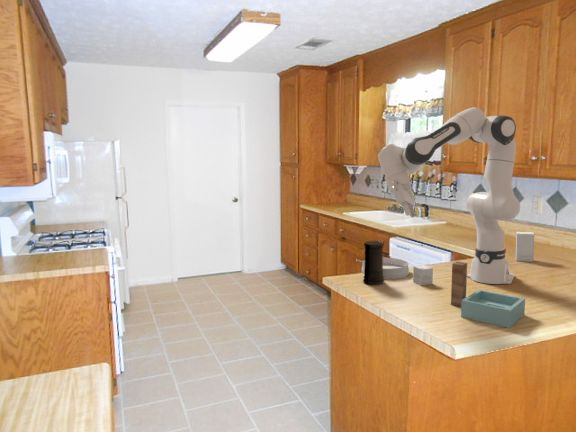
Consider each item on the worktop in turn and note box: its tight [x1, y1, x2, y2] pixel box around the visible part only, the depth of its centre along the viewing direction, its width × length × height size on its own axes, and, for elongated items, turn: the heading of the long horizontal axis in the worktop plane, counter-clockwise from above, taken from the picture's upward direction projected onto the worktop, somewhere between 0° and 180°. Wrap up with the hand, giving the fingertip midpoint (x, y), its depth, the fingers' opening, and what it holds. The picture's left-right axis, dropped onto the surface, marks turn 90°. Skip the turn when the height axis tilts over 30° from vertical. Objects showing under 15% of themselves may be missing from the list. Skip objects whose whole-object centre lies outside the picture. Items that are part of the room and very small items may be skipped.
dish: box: [361, 257, 410, 280], centre depth 218 cm, size 22×22×5 cm
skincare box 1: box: [412, 264, 434, 287], centre depth 200 cm, size 6×6×7 cm
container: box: [362, 240, 385, 286], centre depth 201 cm, size 9×9×18 cm
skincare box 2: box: [515, 231, 535, 263], centre depth 236 cm, size 8×6×15 cm
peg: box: [450, 261, 468, 307], centre depth 171 cm, size 4×4×16 cm
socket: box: [460, 289, 526, 329], centre depth 159 cm, size 16×16×6 cm
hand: (411, 216), depth 178 cm, fingers open, 8 cm apart
